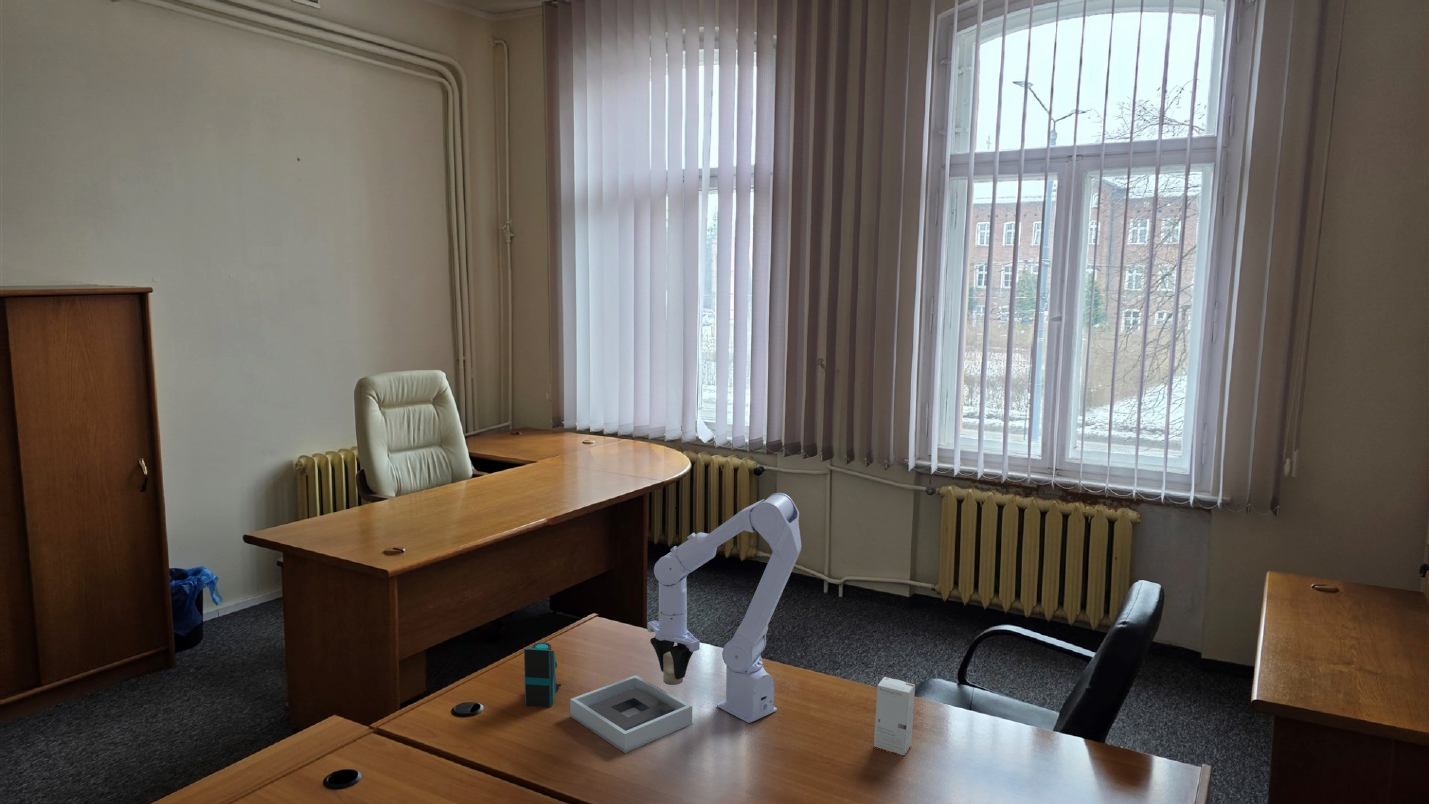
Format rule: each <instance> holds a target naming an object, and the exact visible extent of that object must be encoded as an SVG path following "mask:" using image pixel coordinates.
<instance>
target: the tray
mask: <svg viewBox="0 0 1429 804" xmlns="http://www.w3.org/2000/svg"><path fill="white" fill-rule="evenodd" d="M634 688H639V689H640V690H642V691H644V692H646V693H648V694H649V695H651V696H653V697H655V698H656V699H658V700H660V701H662V702H663V703H665V704H667V705H669V706H671V707H672V708H674V711H673V712H670V713H668V714H665V715H663V716H661V717H658V718H656V719H653V720H651V721H649V722H646V723H644V724H641V725H639V726H637V727H634V728H632V729H629V730H627V731H625V730H623V729H622V728H620V727H619V726H617V725H616V724H614V723H612V722H611V721H609V720H608V719H606V718H605V717H603V716H601V715H600V714H598V713H597V712H595V711H594V710H592V709H590V708H589V707H587V706H589V705H592V704H595V703H597V702H600V701H603V700H605V699H608V698H611V697H613V696H616V695H618V694H621V693H624V692H626V691H629V690H632V689H634ZM569 703H570V705H569V706H570V710H569V711H570V718H572V719H573V720H575V721H577V723H579V722H580V723H579V724H581V725H582V726H584V727H585V728H587V729H588V730H590V731H591V732H592V733H594V734H596V735H597V736H599V737H600V738H602V739H603V740H605V741H607V743H609V744H610V745H612V746H614V747H615V748H616V749H618V750H620V751H621V752H623V753H624V754H627V753H628V752H631V751H633V750H635V749H637V748H640V747H642V746H644V745H646V744H649V743H651V742H654V741H656V740H659V739H661V738H663V737H665V736H667V735H670V734H672V733H674V732H676V731H679V730H682V729H683V728H685V727H688V726H690V725H693V705H691V704H689V703H688V702H686V701H684V700H682V699H680V698H679V697H676V695H673V694H672V693H669V692H667V691H666V690H664V689H663V688H661V687H659V686H657V685H654V684H653V683H651V682H649V681H647V680H645V679H643V678H642V677H641V676H638V675H633V676H630V677H627V678H624V679H622V680H619V681H616V682H614V683H610V684H608V685H605V686H602V687H600V688H597V689H595V690H592V691H589V692H586V693H583V694H580V695H577V696H575V697H571V698H570V700H569ZM640 712H641V711H639V710H637V709H636V708H631V709H629V710H626V711H624V712H621V714H623V715H625V716H626V717H630V716H632V715H635V714H637V713H640Z"/></svg>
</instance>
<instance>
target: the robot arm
mask: <svg viewBox="0 0 1429 804" xmlns="http://www.w3.org/2000/svg"><path fill="white" fill-rule="evenodd" d="M799 519H800V511H799V509H798V507H797V505H796V504H795V502H794V501H793V499H792V498H791V497H790V496H789V495H787V494H786V493H783V492H776V493H772V494H771V495H769V496H767V498H766V499H764V498H763V499H761V500H758V501H757V502H755V503H753V504H751V505H748V506H747V507H745V508H742V510H740V511H738V512H737V513H736V514H734V515H733V516H732V517H730V518H729V519H728V520H726V521H725V522H724V523H722V524H720V525H719V526H718V527H716V528H715V529H714V530H712V531H711V532H709V533H706V532H702V531H701V532H698V533H695V532H692V533H691V534H690V535H688V536H687V540H686V541H685V542H683V543H681V544H679V545H678V546H676V545H675V546H673V547H671V548H670V552H669V553H667V554H666V555H664V556H661V557H660V558H659V559H658V560H657V561H656V562H655V564H654V567H653V573H654V576H655V579H656V581H658V621H657V620H652V621H649V622H647V632H649V633H655V635H654V636H653V637H651V638H650V644H651V646H652V648H653V649H654V652H655V654H656V656H657V660H658V663H659V666H660V671H661V672H662V673H663V655H664V654H665V653H667V652H670V653H671V655H672V659H673V663H674V675H675V679H681V678H686V672H687V669H688V666H689V662H690V659H692V656H693V654H694V652H696V651H699V650H700V647H701V646H700V643H701V642H700V640H699V639H697V638H696V637H695V636H694V635H693V634H692V633H691V632H690V630H688V627H687V625H688V624H687V623H688V620H687V619H688V617H687V615H688V613H687V612H688V610H687V609H688V607H687V606H688V605H687V602H688V601H687V600H688V599H687V598H688V597H687V594H688V593H687V590H688V588H687V576H688V575H689V574H690V573H692V572H694V571H696V570H697V569H698V568H699V567H701V566H703V565H704V564H706V563H708V562H709V561H710V560H712V559H714V558H715V557H716V555H717V549H718V547H719V546H721V545H722V544H725V543H727V541H730V540H731V539H732V538H733V537H735V536H737V535H739V534H740V533H742V532H744V531H745V532H749V533H755V532H757V533H758V534H759V535H760V536H761V537H762V538H763V540H765V542H766V543H768V544H769V545H768V546H769V547H770V549H771V551H772V553H771V555H770V558H769V559H768V561H767V563H766V567H765V569H764V570H763V572H762V573H763V574H762V576H761V578H760V580H759V583H758V585H757V588H756V590H755V592H754V595H753V596H752V599H751V601H750V604H749V605H748V608H747V610H746V612H745V615H744V617H743V619H742V621H741V623H740V625H739V626H738V627H737V629H736V631H735V633H734V635H733V637H732V638H731V640H729V641H727V643H726V644H725V645H724V646H723V647H722V651H721V656H722V659H723V663H724V664H725V666H726V668H725V669H726V672H725V673H726V674H725V677H726V680H725V682H726V684H725V686H726V688H725V690H726V691H725V694H726V695H725V696H726V697H725V698H726V699H725V700H722V701H719V702H717V704H716V707H717V708H720V709H721V710H723V711H725V712H727V713H729V714H731V715H732V716H734V717H736V718H738V719H740V720H742V721H744V722H746V723H748V724H751V723H753V722H756V721H757V720H759V719H761V718H764V717H766V716H768V715H770V714H772V713H774V712H776V711H778V710H777V707H776V706H775V680H774V678H773V676H772V675H770V674H769V673H768V672H767V671H766V670H765V668H764V667H763V666H764V665H763V659H762V656H761V655H762V653H763V652H764V650H765V649H766V645H767V636H766V635H767V632H768V630H769V623H770V621H771V618H772V616H773V614H774V612H775V609H776V608H777V605H778V603H779V601H780V599H781V597H782V594H783V591H784V589H785V587H786V585H787V583H788V581H789V578H790V576H791V573H792V571H793V570H794V567H795V564H796V563H797V560H798V558H799V556H800V554H801V551H802V540H801V530H800V524H799ZM675 644H676V645H675Z"/></svg>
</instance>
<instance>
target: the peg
mask: <svg viewBox="0 0 1429 804" xmlns="http://www.w3.org/2000/svg"><path fill="white" fill-rule="evenodd" d="M662 673H663V684H666V685H669V686H676V685H677V686H678V685H680V684H682V683H683V682H684V679H683V678H684V677H683V678H681V679H675V675H674V663H673V659H672V655H671V653H670V652H667V653H665V654H664V655H663V672H662Z"/></svg>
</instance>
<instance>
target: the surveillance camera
mask: <svg viewBox="0 0 1429 804" xmlns="http://www.w3.org/2000/svg"><path fill="white" fill-rule="evenodd" d="M523 661H524V662H523V664H524V665H523V666H524V667H523V668H524V669H523V671H524V705H525V706H526V707H531V708H547V709H548V708H552V706H553V705H554V702H555V700H556V699H555V697H556V696H555V694H557V693H558V691H559V690H560V688H561V687H562V684H561V683H556V682H557V678H556V677H557V676H556V674H557V672H556V671H557V667H558V663H557V661H556V653H555V651H554V650H552V645H551V644H550V643H549V642H538V643H534V644H532V645H531V647H526V648H523ZM560 686H561V687H560ZM559 687H560V688H559Z"/></svg>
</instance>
